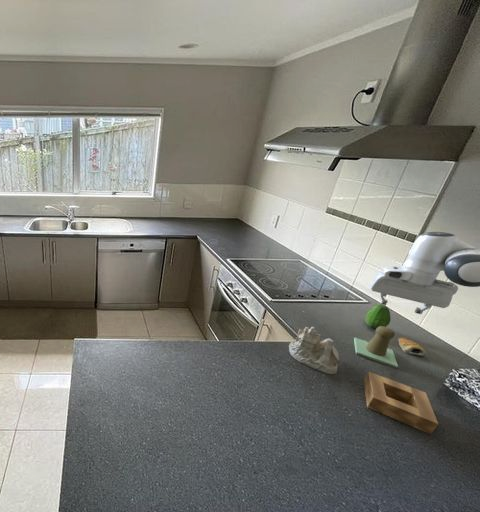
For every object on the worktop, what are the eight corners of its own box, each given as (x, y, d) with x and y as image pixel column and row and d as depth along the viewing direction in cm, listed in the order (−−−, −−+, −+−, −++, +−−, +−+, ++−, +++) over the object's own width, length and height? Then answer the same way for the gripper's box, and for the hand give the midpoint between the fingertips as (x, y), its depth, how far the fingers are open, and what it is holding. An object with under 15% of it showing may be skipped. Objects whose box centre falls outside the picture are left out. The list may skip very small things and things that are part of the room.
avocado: (358, 324, 132) (369, 302, 128) (367, 320, 135) (378, 299, 131) (379, 334, 126) (391, 311, 121) (388, 330, 129) (400, 308, 124)
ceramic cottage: (333, 378, 100) (348, 343, 95) (282, 354, 111) (292, 321, 106) (342, 361, 110) (355, 328, 105) (293, 340, 121) (304, 310, 116)
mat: (391, 351, 115) (392, 349, 115) (397, 368, 106) (398, 366, 106) (353, 339, 122) (354, 337, 121) (355, 353, 113) (356, 352, 112)
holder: (419, 402, 92) (425, 392, 90) (430, 434, 82) (438, 423, 80) (363, 380, 100) (368, 371, 98) (367, 407, 89) (373, 397, 88)
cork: (378, 357, 110) (391, 334, 106) (361, 347, 115) (372, 325, 111) (389, 354, 111) (401, 332, 107) (372, 344, 117) (383, 323, 113)
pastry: (392, 339, 122) (396, 332, 121) (412, 344, 120) (416, 336, 119) (404, 353, 114) (408, 345, 113) (425, 358, 112) (430, 350, 111)
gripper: (457, 281, 97) (438, 315, 102) (377, 265, 108) (363, 296, 113) (464, 287, 92) (443, 322, 97) (380, 270, 103) (365, 302, 109)
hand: (399, 308), depth 105 cm, fingers open, 8 cm apart
